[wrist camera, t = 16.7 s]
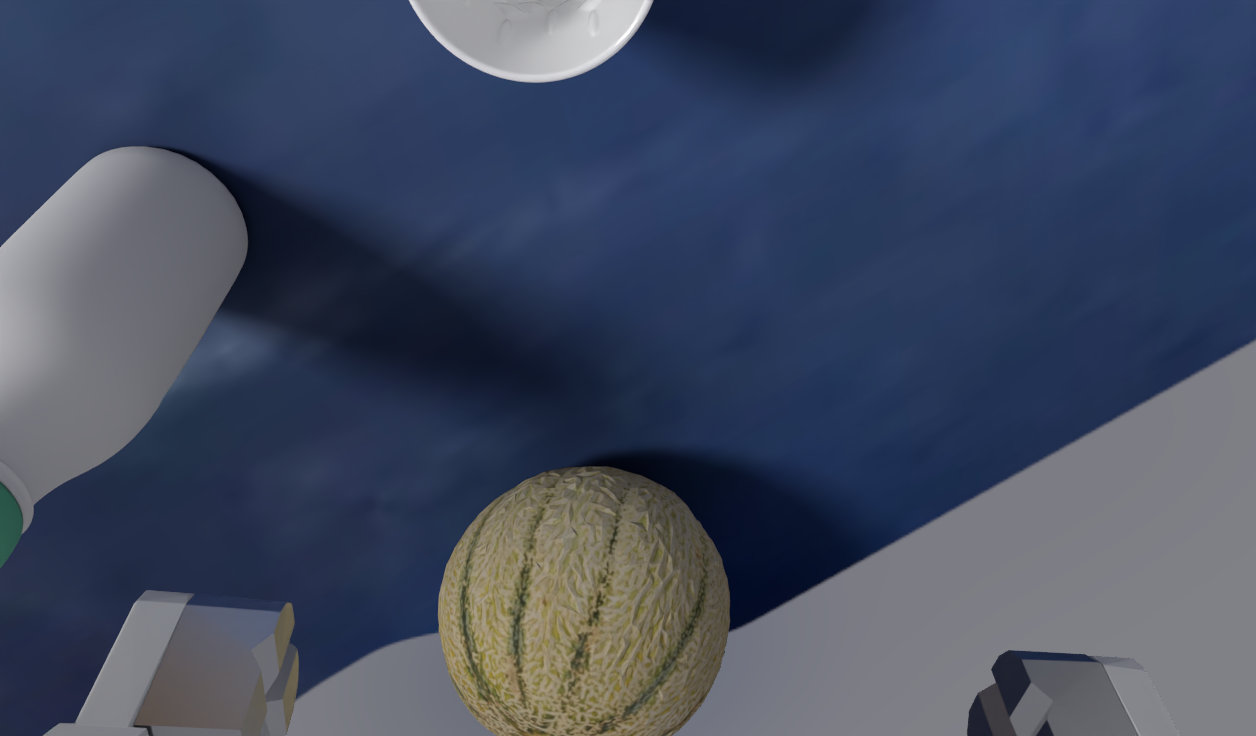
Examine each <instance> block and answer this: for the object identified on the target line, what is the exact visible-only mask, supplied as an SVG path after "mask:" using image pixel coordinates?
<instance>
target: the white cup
mask: <svg viewBox="0 0 1256 736" xmlns="http://www.w3.org/2000/svg"><path fill="white" fill-rule="evenodd" d="M409 1H410V3H411V5H412V7H413V9H414V10H415V12H416V14H417V15H418V17H419V18H420V20H421V21H422V23H423V24H424V25H425V26H426V28H427V29H428V30H429V31H430V33H431V34H432V35H433V36H434V37H435V38H436V39H437V40H438V41H439V42H440V43H441V44H442V45H443V46H444V47H445V48H446V49H448V50H449V51H450V52H451V53H453V54H454V55H455V56H457V57H458V58H460V59H461V60H463V61H464V62H466V63H467V64H469V65H471V66H473V67H475V68H477V69H479V70H481V71H483V72H486V73H488V74H491V75H494V76H497V77H500V78H504V79H508V80H513V81H520V82H551V81H558V80H563V79H567V78H571V77H574V76H577V75H580V74H582V73H584V72H587V71H589V70H591V69H593V68H595V67H597V66H598V65H600V64H602V63H603V62H605V61H606V60H608V59H609V58H610V57H612V56H613V55H614V54H615V53H617V52H618V51H619V50H620V49H621V48H622V47H623V46H624V45H625V44H626V43H627V42H628V41H629V40H630V39H631V37H632V36H633V35H634V34H635V32H636V31H637V30H638V28H639V27H640V25H641V24H642V22H643V21H644V19H645V17H646V15H647V14H648V12H649V10H650V7H651V5H652V3H653V0H409Z"/></svg>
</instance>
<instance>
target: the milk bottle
mask: <svg viewBox="0 0 1256 736" xmlns="http://www.w3.org/2000/svg"><path fill="white" fill-rule="evenodd" d="M247 248H248V236H247V229H246V225H245V222H244V218H243V215H242V212H241V210H240V208H239V206H238V205H237V202H236V200H235V198H234V197H233V196H232V194H231V193H230V192H229V191H228V189H227V188H226V186H225V185H224V184H223V183H222V182H221V181H220V180H219V179H217V178H216V177H215V176H214V175H213V174H212V173H211V172H210V171H208V170H207V169H205V168H204V167H202V166H201V165H200V164H198V163H197V162H195V161H193V160H191V159H189V158H187V157H185V156H183V155H181V154H178V153H174V152H171V151H168V150H165V149H160V148H153V147H147V146H144V147H122V148H117V149H113V150H110V151H107V152H104V153H102V154H100V155H98V156H96V157H95V158H93V159H92V160H90V161H89V162H88V163H87V164H86V165H84V166H83V167H82V168H81V169H80V170H79V171H77V172H76V173H75V174H74V175H73V176H72V177H71V178H70V179H69V180H68V181H67V182H66V183H65V184H64V185H63V186H62V187H61V188H60V189H59V190H58V191H57V192H56V193H55V194H54V195H53V196H52V197H51V198H50V199H49V200H48V201H47V202H46V203H45V204H44V205H43V206H42V207H41V208H40V209H39V210H38V211H36V212H35V213H34V214H33V215H32V216H31V217H30V218H29V219H28V220H27V221H26V222H25V223H24V224H23V225H22V226H21V227H20V228H19V229H18V230H17V231H16V232H15V233H14V234H13V235H12V236H11V237H10V238H9V239H8V240H7V241H6V242H5V243H4V244H3V245H2V246H1V247H0V568H1V567H2V565H3V564H4V563H5V561H6V560H7V559H8V557H9V556H10V554H11V553H12V551H13V550H14V548H15V546H16V545H17V543H18V541H19V539H20V537H21V534H22V533H24V532H25V531H26V529H27V528H28V527H29V525H30V523H31V521H32V518H33V511H34V510H33V505H34V504H35V503H36V502H37V501H39V500H40V499H41V498H42V497H44V496H45V495H46V494H47V493H49V492H50V491H52V490H53V489H55V488H56V487H58V486H59V485H61V484H63V483H64V482H66V481H68V480H70V479H72V478H74V477H76V476H78V475H80V474H82V473H84V472H86V471H88V470H90V469H92V468H94V467H96V466H97V465H99V464H101V463H102V462H104V461H106V460H107V459H108V458H110V457H111V456H113V455H114V454H116V453H117V452H118V451H119V450H121V449H122V448H123V447H124V446H125V445H126V444H127V443H129V442H130V441H131V440H132V439H133V438H134V437H135V436H136V435H137V434H138V432H139V431H140V430H141V429H142V428H143V427H144V426H145V424H146V423H147V422H148V421H149V420H150V418H151V417H152V415H153V414H154V412H155V411H156V409H157V408H158V407H159V405H160V404H161V402H162V401H163V399H164V398H165V396H166V395H167V393H168V392H169V390H170V389H171V387H172V386H173V384H174V382H175V381H176V379H177V377H178V376H179V374H180V372H181V371H182V369H183V367H184V366H185V364H186V363H187V361H188V359H189V358H190V356H191V354H192V353H193V351H194V349H195V348H196V346H197V344H198V343H199V341H200V339H201V338H202V336H203V334H204V333H205V331H206V329H207V328H208V326H209V324H210V323H211V321H212V319H213V317H214V316H215V314H216V312H217V311H218V309H219V307H220V306H221V304H222V302H223V301H224V299H225V297H226V295H227V294H228V292H229V290H230V289H231V287H232V285H233V283H234V282H235V280H236V278H237V276H238V274H239V272H240V270H241V268H242V266H243V264H244V261H245V259H246V254H247Z"/></svg>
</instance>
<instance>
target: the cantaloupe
mask: <svg viewBox="0 0 1256 736" xmlns="http://www.w3.org/2000/svg"><path fill="white" fill-rule="evenodd" d="M729 609H730V592H729V588H728V580H727V576H726V574H725V571H724V568H723V563H722V558H721V557H720V555H719V553H718V551H717V549H716V547H715V545H714V543H713V541H712V540H711V539H710V537H709V536H708V535H707V533H706V531H705V530H704V529H703V528H702V525H701V523H700V521H698V520H696V519H695V517H694V515H693V514H692V512H691V511H690V509H689V508H688V506H687V505H686V504H685V503H684V502H683V501H682V500H681V499H680V498H679V497H678V496H677V495H676V494H675V493H674V492H673V491H671V490H669V489H667V488H666V487H664V486H662V485H660V484H657V483H656V482H654V481H652V480H650V479H648V478H645V477H643V476H641V475H638V474H634V473H630V472H626V471H623V470H621V469H617V468H612V467H607V466H606V467H592V466H588V467H566V468H560V469H554V470H549V471H545V472H543V473H541V474H539V475H537V476H535V477H533V478H530V479H527V480H525V481H523V482H522V483H520V484H519V485H518V486H516V487H514V488H513V489H511V490H509V491H507V492H506V493H504V494H502V495H501V496H500V497H498V498H497V499H495V500H494V501H493V502H492V503H491V504H490V505H488V506H487V507H486V508H485V509H484V510H483V511H482V512H481V513H480V514H479V515H478V516H477V517H476V519H475V520H474V521H473V522H472V524H471V525H470V526H469V527H468V528H467V530H466V531H465V533H464V535H463V536H462V538H461V539H460V541H459V542H458V544H457V545H456V547H455V548H454V551H453V553H452V555H451V557H450V560H449V562H448V563H447V565H446V569H445V573H444V578H443V582H442V584H441V589H440V593H439V606H438V619H439V633H440V637H441V642H442V648H443V652H444V656H445V660H446V665H447V669H448V673H449V675H450V677H451V680H452V683H453V685H454V687H455V689H456V691H457V693H458V694H459V696H460V697H461V699H462V701H463V702H464V704H465V705H466V707H467V708H468V710H469V711H470V712H471V713H472V715H473V716H474V717H476V719H477V720H478V721H479V722H480V723H481V724H482V725H483V726H485V727H486V728H487V729H488V730H489V731H491V732H492V733H494V734H495V735H497V736H672V735H673V734H675V733H676V732H677V731H678V730H680V728H682V726H684V725H685V724H686V722H687V721H688V720H689V719H690V718H691V717H692V716H693V714H694V713H695V712H696V711H697V710H698V708H699V707H701V705H702V703H703V702H704V700H705V698H706V696H707V694H708V693H709V691H710V689H711V687H712V685H713V683H714V680H715V678H716V676H717V674H718V672H719V670H720V667H721V661H722V657H723V655H724V653H725V650H724V648H725V646H726V642H727V636H728V631H729V624H730V615H729Z"/></svg>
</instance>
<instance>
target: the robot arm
mask: <svg viewBox="0 0 1256 736" xmlns="http://www.w3.org/2000/svg"><path fill="white" fill-rule="evenodd" d="M294 624H295V622H294V615H293V608H292V603H286V602H275V601H265V600H254V599H244V598H233V597H222V596H212V595H201V594H189V593H176V592H163V591H151V590H146V591H145V592H144V594H143V595H142V596H141V597H140V598H139V599H138V600H137V601H136V602H135V603H134V605H133V607H132V609H131V611H130V613H129V615H128V617H127V619H126V621H125V623H124V625H123V627H122V629H121V631H120V633H119V635H118V637H117V639H116V641H115V643H114V645H113V647H112V649H111V651H110V653H109V655H108V657H107V659H106V661H105V663H104V665H103V668H102V670H101V672H100V674H99V676H98V678H97V680H96V682H95V684H94V686H93V688H92V690H91V692H90V694H89V696H88V698H87V700H86V702H85V704H84V706H83V708H82V710H81V712H80V714H79V716H78V718H77V720H76V722H75V724H74V723H59V724H58V725H57V726H55V727H54V728H53V729H51V730H50V731H49V732H47V733H46V734H45V735H43V736H285V735H286V734H287V731H288V727H289V724H290V720H291V716H292V713H293V708H294V703H295V697H296V691H297V685H298V667H299V662H298V651H297V648H295V647H294V646H293V645H292V644H291V643H290V642H289V640H290V637H291V633H292V630H293V627H294ZM991 670H992V673H993V675H994V678H995V681H996V683H994V684H992V685H991V686H989V687H987V688H986V689H984V690H982V691H980V692H979V693H978V694H977V696H976V698H975V700H974V702H973V704H972V706H971V708H970V710H969V718H968V730H967V735H968V736H1180V734H1179V732H1178V730H1177V728H1176V726H1175V725H1174V723H1173V721H1172V719H1171V717H1170V715H1169V714H1168V712H1167V710H1166V708H1165V706H1164V704H1163V703H1162V701H1161V699H1160V697H1159V696H1158V694H1157V692H1156V690H1155V688H1154V686H1153V684H1152V682H1151V681H1150V679H1149V677H1148V675H1147V673H1146V671H1145V670H1144V668H1143V667H1142V666H1141V665H1140V664H1139V663H1138V662H1136V661H1135V660H1134V659H1130V658H1117V657H1101V656H1087V655H1085V654H1067V653H1048V652H1030V651H1011V650H1010V651H1007V652H1005V653H1003V654H1002V655H1000V656H999V657H998V659H997V660H996V662H995V664H994V665H993V667H992V669H991Z"/></svg>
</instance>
